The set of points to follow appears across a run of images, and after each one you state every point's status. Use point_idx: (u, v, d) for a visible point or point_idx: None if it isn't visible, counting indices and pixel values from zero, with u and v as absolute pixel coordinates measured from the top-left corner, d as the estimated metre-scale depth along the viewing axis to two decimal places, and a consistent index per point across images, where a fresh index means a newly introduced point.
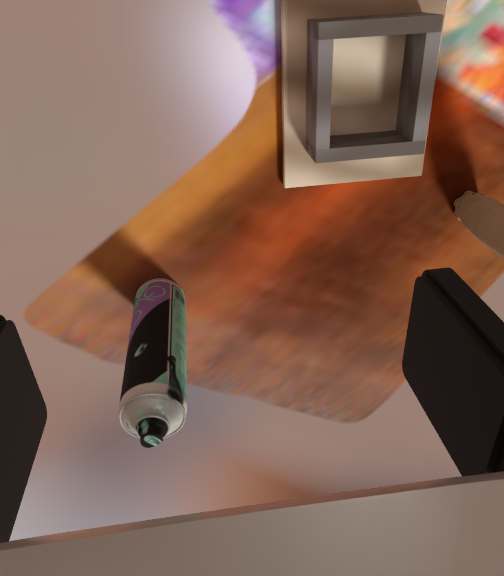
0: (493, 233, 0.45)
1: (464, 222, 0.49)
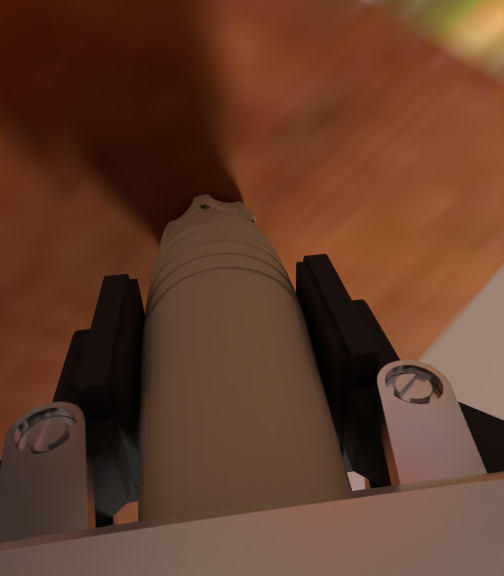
0: (140, 414, 0.09)
1: None
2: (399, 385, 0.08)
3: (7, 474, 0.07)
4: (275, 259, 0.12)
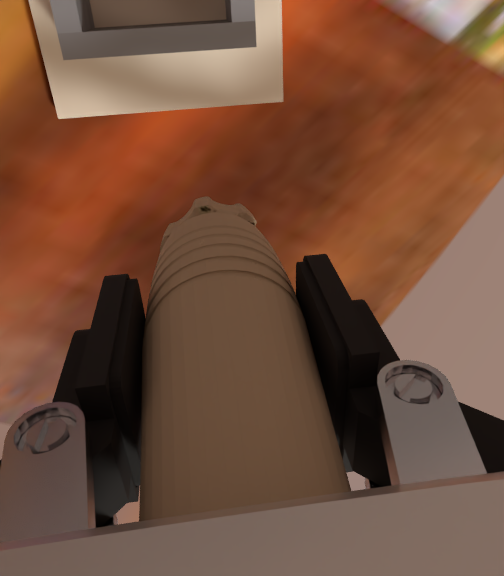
0: (142, 417, 0.09)
1: None
2: (399, 385, 0.08)
3: (7, 474, 0.07)
4: (275, 262, 0.12)
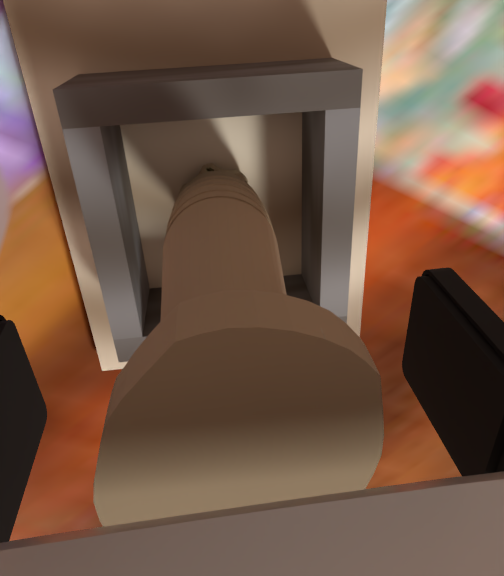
0: (162, 279, 0.14)
1: None
2: None
3: None
4: (257, 199, 0.17)
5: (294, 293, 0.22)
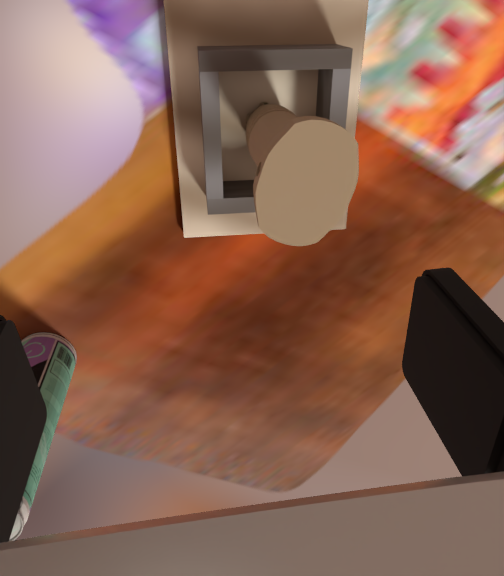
0: (256, 144, 0.29)
1: None
2: None
3: None
4: None
5: None
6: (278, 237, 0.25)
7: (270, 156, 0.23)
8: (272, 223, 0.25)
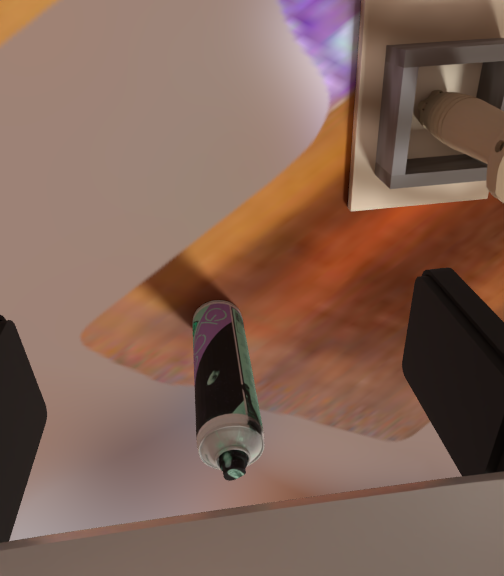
0: (461, 126, 0.35)
1: (429, 125, 0.40)
2: None
3: None
4: None
5: (467, 160, 0.44)
6: None
7: None
8: None
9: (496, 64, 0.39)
